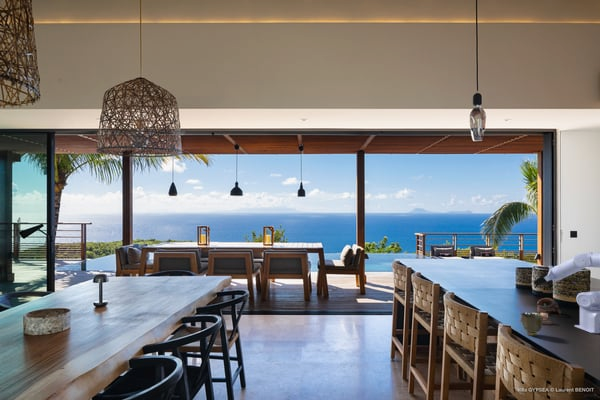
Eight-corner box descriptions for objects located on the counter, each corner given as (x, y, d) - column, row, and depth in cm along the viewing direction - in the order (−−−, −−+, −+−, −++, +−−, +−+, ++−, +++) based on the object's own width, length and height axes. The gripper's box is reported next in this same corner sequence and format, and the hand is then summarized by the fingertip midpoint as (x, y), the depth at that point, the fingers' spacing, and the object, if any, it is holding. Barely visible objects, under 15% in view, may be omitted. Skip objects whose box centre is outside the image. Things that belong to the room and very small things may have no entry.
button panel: (551, 324, 165) (551, 321, 165) (527, 324, 164) (527, 321, 164) (544, 321, 170) (543, 318, 170) (520, 321, 169) (520, 318, 169)
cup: (522, 330, 155) (522, 311, 156) (544, 334, 151) (544, 314, 151) (519, 335, 150) (519, 314, 150) (541, 339, 145) (541, 318, 145)
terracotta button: (549, 318, 166) (549, 314, 166) (543, 318, 166) (543, 314, 166) (545, 316, 169) (545, 312, 169) (538, 316, 169) (538, 312, 169)
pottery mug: (566, 317, 179) (560, 303, 177) (546, 325, 180) (540, 310, 179) (552, 304, 190) (546, 291, 189) (533, 312, 192) (527, 298, 191)
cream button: (532, 318, 166) (532, 314, 166) (526, 318, 166) (526, 314, 166) (528, 316, 169) (528, 312, 169) (522, 316, 168) (522, 312, 168)
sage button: (541, 318, 166) (541, 314, 166) (534, 318, 166) (534, 314, 166) (536, 316, 169) (536, 312, 169) (530, 316, 169) (530, 312, 169)
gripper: (566, 257, 173) (540, 270, 183) (551, 265, 165) (525, 278, 175) (577, 271, 171) (550, 283, 180) (562, 279, 163) (536, 292, 173)
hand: (539, 281), depth 178 cm, fingers open, 7 cm apart
